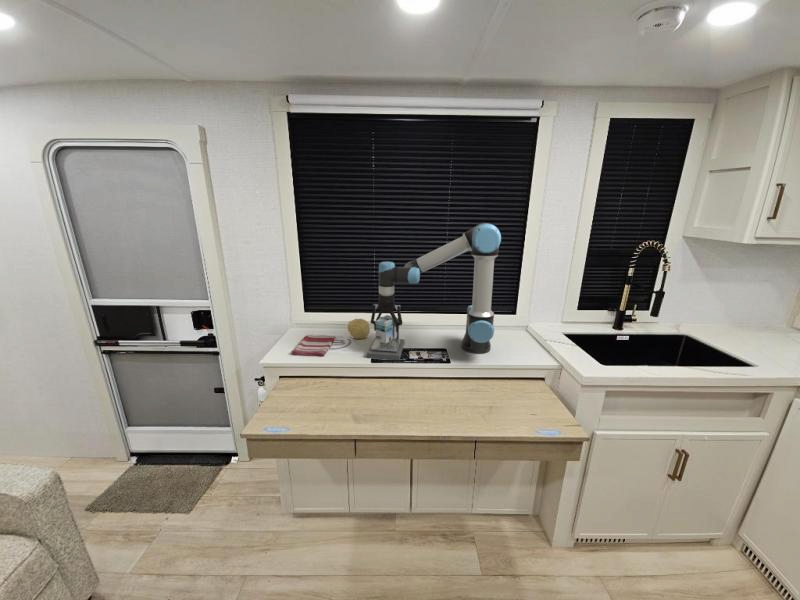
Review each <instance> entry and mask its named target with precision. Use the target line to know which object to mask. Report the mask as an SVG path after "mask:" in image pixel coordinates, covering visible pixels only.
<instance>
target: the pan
mask: <svg viewBox="0 0 800 600" xmlns="http://www.w3.org/2000/svg"><path fill="white" fill-rule="evenodd" d="M401 339H402V338H399V339H393V340H391V341H389V342H388V343H383V342H379V341H376V340H375V341H374V340H373V341H374V343H373V342H372V343H373V345H372V347H371V350H379V351H393V352H397V351H398V348H399V344H400V341H401Z"/></svg>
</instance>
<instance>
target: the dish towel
mask: <svg viewBox="0 0 800 600" xmlns="http://www.w3.org/2000/svg"><path fill="white" fill-rule="evenodd" d="M336 338H337V337H336V336H334V335H313V334H306V335H304V337H303V338H302V340H301V341H300V342H299V343H298V344H297V345H296V347H295V348H294V349H293V350H291V351H290V353H291V356H302V357H319V358H322V357H325V355H326V354H327V352H328V351H329V349H330V348H331V347H332V344H333V343H334V342H335V340H336Z"/></svg>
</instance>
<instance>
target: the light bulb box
mask: <svg viewBox="0 0 800 600" xmlns="http://www.w3.org/2000/svg"><path fill="white" fill-rule="evenodd" d="M381 317H382V318H379V319H378V320H376V319H375V321H376V331H375V330H374V332H375V334H374V335H375V336H374V339H375V340H376V341H379V342H383V343H388V342H389V341H391V340H393V339H394V326H395V323H394V320H393V318H392V316H391V315H388V314H386V315H384V316H381ZM396 318H398V316H396Z"/></svg>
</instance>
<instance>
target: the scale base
mask: <svg viewBox="0 0 800 600" xmlns="http://www.w3.org/2000/svg"><path fill="white" fill-rule="evenodd" d="M382 317H383V316H380V318H382ZM380 318H379V319H380ZM397 320H398V322H399V319H398V317H397ZM396 339H401V341H400V344H399V348H398V351H397V352H393V351H379V350H371V347H372V345H373V343H374V341H375V338H373V341H372V343H371V345H370V347H369V348H368V351H367V352H366V358H367V359H376V360H392V361H400V360H401V356H402V353H403V349H404V345H405V339H404V338H400V330H399V331H398V332H397V337H396Z"/></svg>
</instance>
